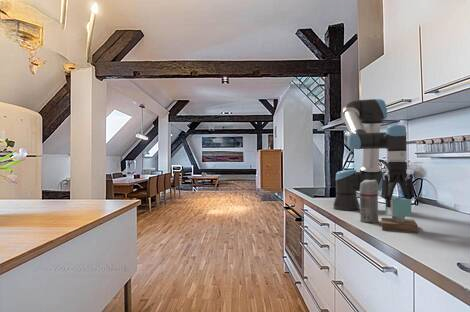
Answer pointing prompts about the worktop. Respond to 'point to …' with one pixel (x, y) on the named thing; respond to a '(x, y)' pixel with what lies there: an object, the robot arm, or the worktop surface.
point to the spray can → (369, 201)
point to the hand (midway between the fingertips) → (398, 214)
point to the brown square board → (399, 224)
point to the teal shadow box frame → (401, 207)
